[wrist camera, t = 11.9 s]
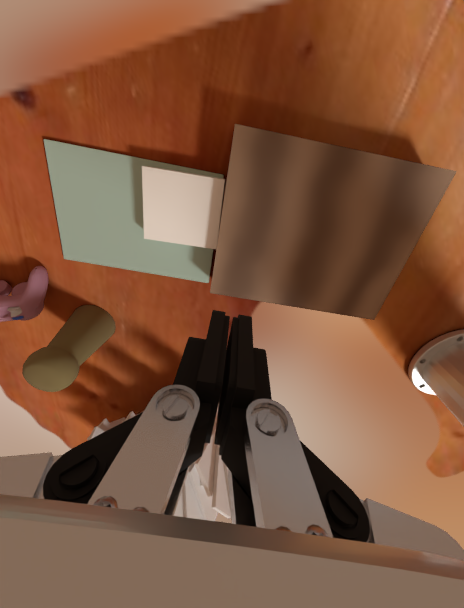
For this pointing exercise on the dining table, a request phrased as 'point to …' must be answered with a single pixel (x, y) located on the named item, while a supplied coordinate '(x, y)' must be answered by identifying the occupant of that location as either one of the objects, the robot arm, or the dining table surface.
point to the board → (319, 222)
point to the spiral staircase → (196, 480)
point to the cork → (69, 349)
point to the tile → (182, 207)
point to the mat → (114, 213)
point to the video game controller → (24, 297)
